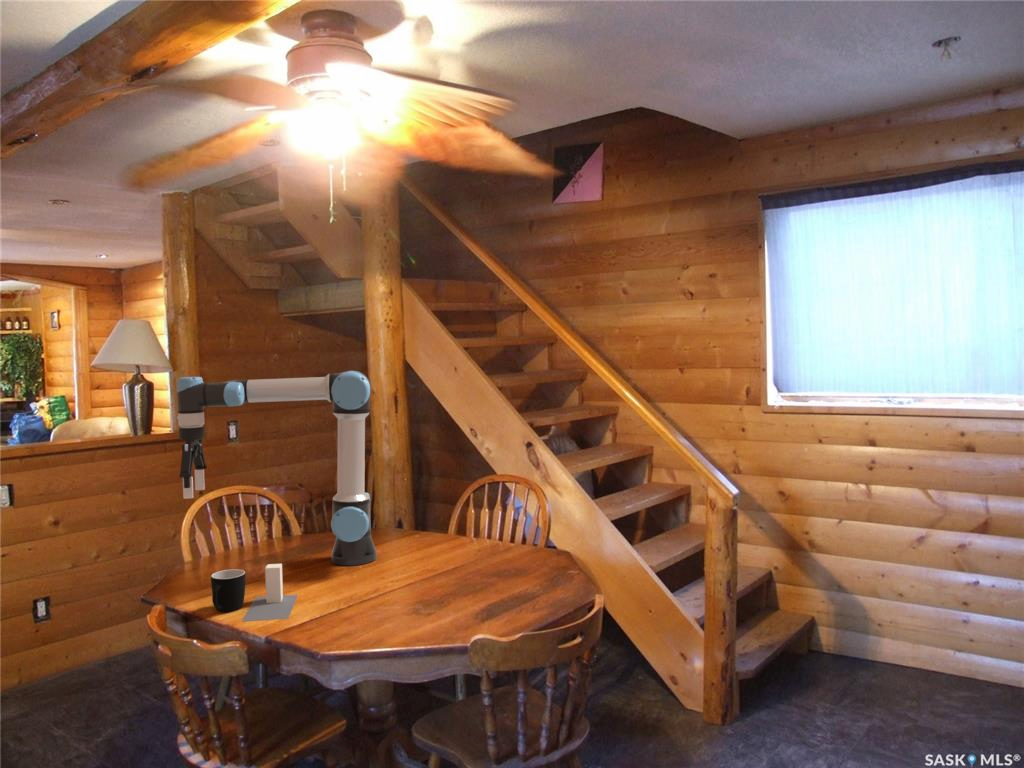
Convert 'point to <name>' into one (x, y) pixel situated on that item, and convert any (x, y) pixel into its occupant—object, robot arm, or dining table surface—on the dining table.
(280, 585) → the pillar
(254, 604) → the felt mat
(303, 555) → the dining table surface
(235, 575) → the mug
